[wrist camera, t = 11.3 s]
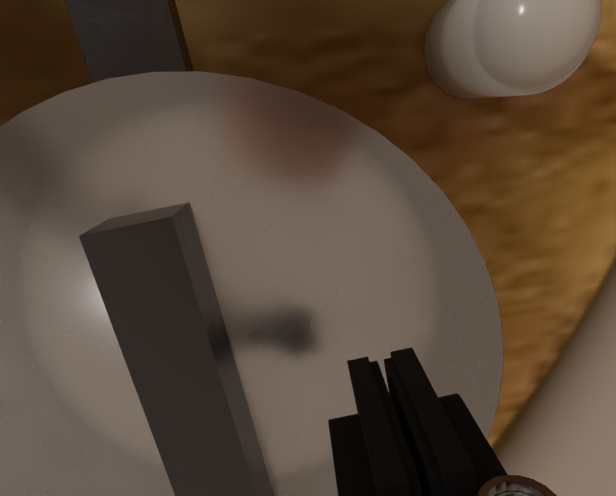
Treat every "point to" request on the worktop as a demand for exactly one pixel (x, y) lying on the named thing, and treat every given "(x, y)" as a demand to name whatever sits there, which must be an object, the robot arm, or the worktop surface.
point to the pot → (129, 37)
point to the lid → (216, 287)
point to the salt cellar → (509, 45)
